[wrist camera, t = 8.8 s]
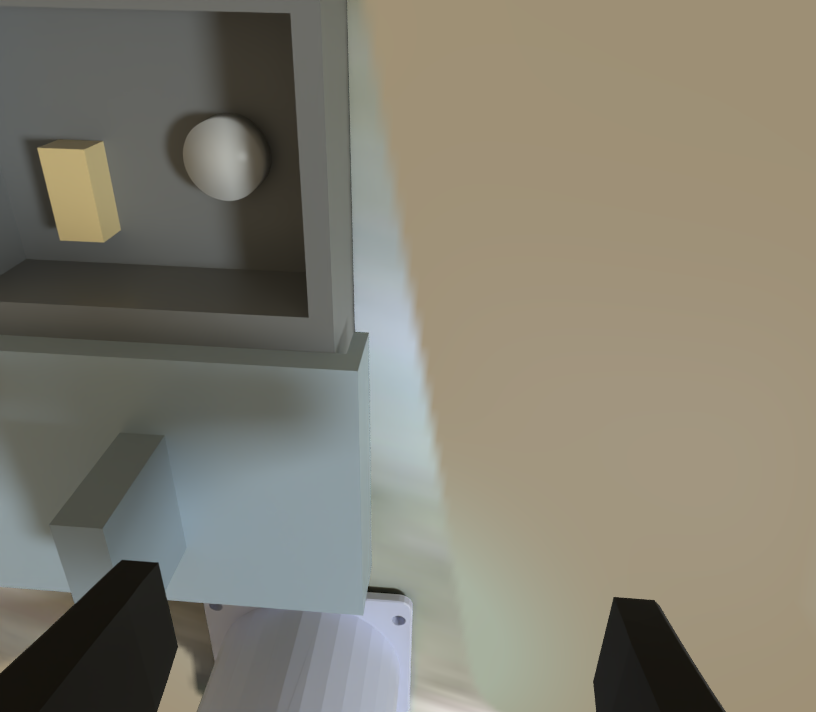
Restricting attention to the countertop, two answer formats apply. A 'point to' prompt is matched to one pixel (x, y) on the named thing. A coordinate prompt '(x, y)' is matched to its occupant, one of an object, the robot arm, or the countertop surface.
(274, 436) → the lid segment
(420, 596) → the countertop surface
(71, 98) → the parts tub
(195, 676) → the countertop surface
